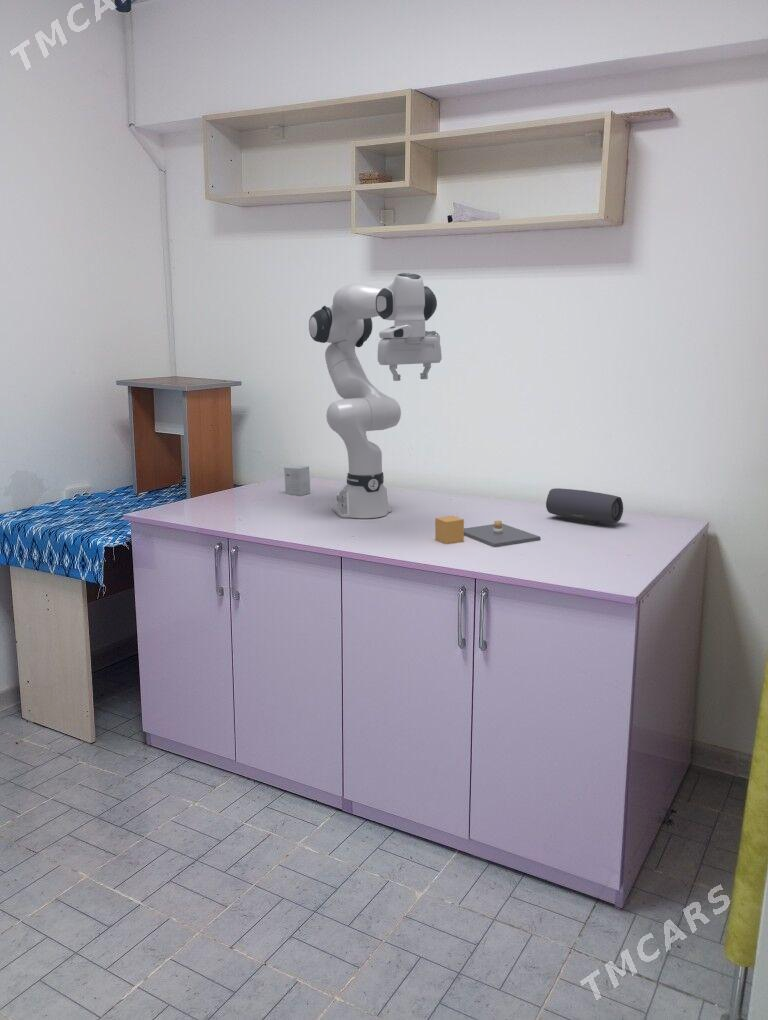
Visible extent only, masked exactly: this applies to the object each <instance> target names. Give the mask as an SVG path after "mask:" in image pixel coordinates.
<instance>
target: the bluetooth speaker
mask: <svg viewBox="0 0 768 1020" xmlns="http://www.w3.org/2000/svg"><path fill="white" fill-rule="evenodd" d="M545 506H546V507H545V508H546V511H547V512H548V513H549V514H551V515H556V516H560V517H564V518H567V521H570V522H575V523H582V524H589V525H599V524H600V523H605V524H606V523H607V524H616V523H618V522H619V521H620V520H621V519H622V518H623V514H624V503H623V499H622V497H620V496H617V495H613V494H608V493H603V492H597V491H590V490H584V489H583V490H581V489H573V488H571V489H570V488H551V489H550V490H549V491H548V494H547V498H546V501H545Z"/></svg>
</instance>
